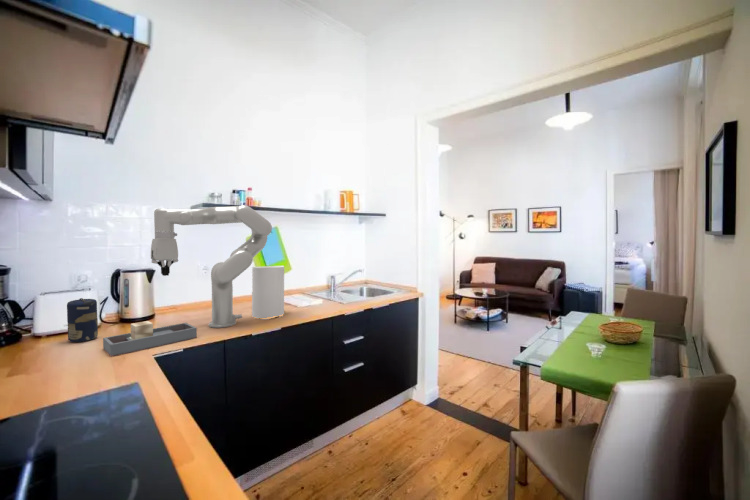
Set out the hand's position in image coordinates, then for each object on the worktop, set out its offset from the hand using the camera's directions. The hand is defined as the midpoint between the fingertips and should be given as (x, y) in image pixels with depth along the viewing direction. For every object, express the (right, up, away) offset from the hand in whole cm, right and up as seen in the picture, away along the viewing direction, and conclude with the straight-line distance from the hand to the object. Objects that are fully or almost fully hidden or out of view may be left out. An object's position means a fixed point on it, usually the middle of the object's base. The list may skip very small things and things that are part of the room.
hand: (165, 275), depth 150 cm
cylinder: (+36, -26, +34) cm, 56 cm away
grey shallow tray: (+4, -27, -14) cm, 31 cm away
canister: (-27, -27, -12) cm, 40 cm away
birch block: (+2, -24, -17) cm, 30 cm away
